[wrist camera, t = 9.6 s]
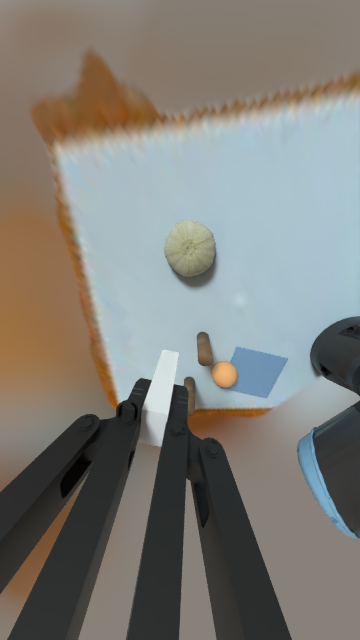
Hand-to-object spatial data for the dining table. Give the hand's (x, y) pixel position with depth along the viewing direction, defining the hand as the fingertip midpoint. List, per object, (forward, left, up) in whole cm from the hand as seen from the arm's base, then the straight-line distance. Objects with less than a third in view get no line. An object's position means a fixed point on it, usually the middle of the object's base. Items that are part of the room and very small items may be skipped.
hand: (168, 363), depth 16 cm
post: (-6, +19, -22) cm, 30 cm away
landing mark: (-20, +13, -22) cm, 32 cm away
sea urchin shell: (+1, -10, -22) cm, 24 cm away
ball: (-13, +13, -19) cm, 26 cm away
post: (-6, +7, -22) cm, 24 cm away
